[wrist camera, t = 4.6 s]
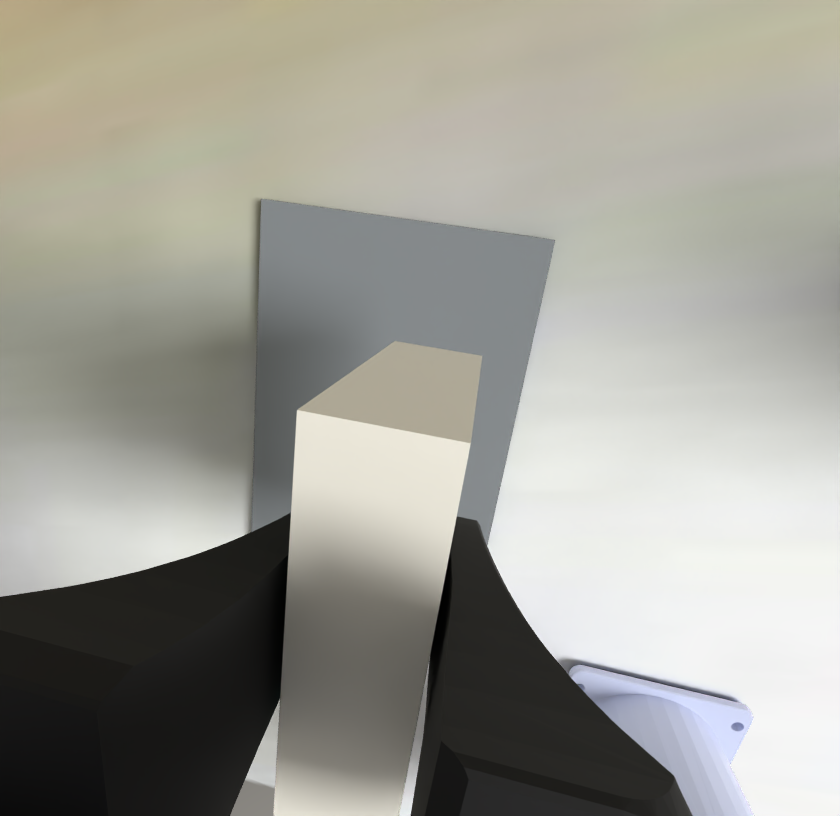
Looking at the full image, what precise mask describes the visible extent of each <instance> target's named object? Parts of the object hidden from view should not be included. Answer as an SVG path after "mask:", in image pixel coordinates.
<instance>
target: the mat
mask: <svg viewBox="0 0 840 816" xmlns="http://www.w3.org/2000/svg"><path fill="white" fill-rule="evenodd" d="M554 243H555V240H552V239H545V238H537V237H530V236H523V235H516V234H509V233H502V232H495V231H488V230H480V229H473V228H466V227H459V226H452V225H445V224H438V223H430V222H423V221H416V220H409V219H402V218H395V217H388V216H381V215H373V214H366V213H359V212H352V211H345V210H338V209H331V208H324V207H316V206H309V205H302V204H295V203H288V202H281V201H274V200H267V199H261V225H260V259H259V293H258V327H257V361H256V395H255V429H254V463H253V497H252V531H251V532H253V531H255V530H257V529H259V528H261V527H263V526H265V525H267V524H270V523H272V522H274V521H276V520H278V519H280V518H281V517H283V516H285V515H287V514H289V513H291V505H292V487H293V470H294V453H295V436H296V418H297V410H298V409H299V408H301V407H302V406H303V405H305V404H306V403H308V402H309V401H310V400H312V399H313V398H315V397H316V396H318V395H319V394H320V393H322V392H323V391H325V390H326V389H328V388H329V387H330V386H332V385H333V384H335V383H336V382H337V381H339V380H340V379H342V378H343V377H345V376H346V375H347V374H349V373H350V372H352V371H353V370H354V369H356V368H357V367H359V366H360V365H362V364H363V363H364V362H366V361H367V360H369V359H370V358H372V357H373V356H374V355H376V354H377V353H379V352H380V351H381V350H383V349H384V348H386V347H387V346H389V345H390V344H391V343H393V342H394V341H398V342H404V343H410V344H416V345H421V346H427V347H433V348H439V349H445V350H451V351H457V352H463V353H468V354H474V355H480V356H482V362H481V370H480V377H479V385H478V392H477V400H476V408H475V415H474V423H473V430H472V438H471V445H470V450H469V455H468V460H467V466H466V471H465V476H464V481H463V486H462V492H461V497H460V502H459V507H458V512H457V516H458V517H463V518H467V519H472V520H477V521H478V523H479V524H480V526H481V530H482V533H483V536H484V539H485V542H486V545H487V544H488V540H489V535H490V531H491V526H492V522H493V517H494V513H495V508H496V504H497V499H498V495H499V490H500V486H501V481H502V477H503V472H504V468H505V463H506V459H507V454H508V450H509V445H510V441H511V436H512V432H513V427H514V423H515V418H516V414H517V409H518V405H519V400H520V396H521V391H522V387H523V382H524V378H525V373H526V369H527V364H528V360H529V355H530V351H531V346H532V342H533V337H534V333H535V328H536V324H537V319H538V315H539V310H540V306H541V301H542V297H543V292H544V288H545V283H546V279H547V274H548V270H549V266H550V261H551V257H552V252H553V248H554Z"/></svg>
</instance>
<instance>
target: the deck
mask: <svg viewBox="0 0 840 816" xmlns="http://www.w3.org/2000/svg"><path fill="white" fill-rule="evenodd" d="M481 362H482V356H480V355H474V354H468V353H463V352H457V351H451V350H445V349H439V348H433V347H427V346H421V345H416V344H410V343H404V342H398V341H394V342H393V343H391V344H390V345H389V346H387V347H386V348H384V349H383V350H381V351H380V352H379V353H377V354H376V355H374V356H373V357H372V358H370V359H369V360H367V361H366V362H364V363H363V364H362V365H360V366H359V367H357V368H356V369H354V370H353V371H352V372H350V373H349V374H347V375H346V376H345V377H343V378H342V379H340V380H339V381H337V382H336V383H335V384H333V385H332V386H330V387H329V388H328V389H326V390H325V391H323V392H322V393H320V394H319V395H318V396H316V397H315V398H313V399H312V400H310V401H309V402H308V403H306V404H305V405H303V406H302V407H301V408H299V409H298V410H297V418H296V436H295V453H294V470H293V487H292V505H291V522H290V539H289V556H288V573H287V591H286V608H285V625H284V642H283V660H282V677H281V694H280V711H279V728H278V746H277V763H276V780H275V799H274V815H273V816H399V813H400V808H401V803H402V797H403V792H404V787H405V782H406V777H407V771H408V766H409V761H410V756H411V751H412V746H413V740H414V735H415V730H416V725H417V720H418V714H419V709H420V704H421V699H422V694H423V689H424V683H425V678H426V673H427V668H428V663H429V657H430V652H431V647H432V642H433V637H434V631H435V626H436V621H437V616H438V611H439V606H440V600H441V595H442V590H443V585H444V580H445V574H446V569H447V564H448V559H449V554H450V549H451V543H452V538H453V533H454V528H455V523H456V517H457V512H458V507H459V502H460V497H461V492H462V486H463V481H464V476H465V471H466V466H467V460H468V455H469V450H470V445H471V438H472V430H473V423H474V415H475V408H476V400H477V392H478V385H479V377H480V370H481Z"/></svg>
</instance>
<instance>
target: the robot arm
mask: <svg viewBox="0 0 840 816" xmlns="http://www.w3.org/2000/svg"><path fill="white" fill-rule="evenodd" d="M290 522H291V513H289V514H287V515H285V516H283V517H281V518H280V519H278V520H276V521H274V522H272V523H270V524H267V525H265V526H263V527H261V528H259V529H257V530H255V531H253V532H251V533H248V534H246V535H244V536H242V537H240V538H238V539H235V540H233V541H230V542H228V543H226V544H223V545H221V546H218V547H215V548H212V549H210V550H207V551H204V552H202V553H199V554H196V555H193V556H190V557H187V558H184V559H180V560H177V561H173V562H170V563H167V564H163V565H160V566H156V567H153V568H149V569H146V570H143V571H139V572H135V573H130V574H126V575H122V576H118V577H114V578H109V579H104V580H99V581H95V582H90V583H85V584H80V585H74V586H69V587H63V588H57V589H50V590H43V591H37V592H30V593H24V594H17V595H10V596H3V597H0V816H230V814H231V812H232V809H233V807H234V804H235V802H236V799H237V797H238V795H239V792H240V790H241V788H242V785H243V783H244V780H245V778H246V776H247V773H248V771H249V769H250V766H251V764H252V761H253V759H254V757H255V754H256V752H257V750H258V747H259V745H260V743H261V740H262V738H263V736H264V733H265V731H266V729H267V727H268V724H269V722H270V720H271V717H272V715H273V713H274V711H275V708H276V706H277V704H278V701H279V699H280V694H281V677H282V660H283V642H284V625H285V608H286V591H287V573H288V556H289V539H290ZM577 683H578V684H580V685H577ZM752 721H753V714H752V713H751V711H750V709H749V708H748V707H747V706H746V705H744V704H742V703H738V702H734V701H730V700H726V699H721V698H717V697H713V696H709V695H705V694H701V693H696V692H692V691H688V690H684V689H680V688H676V687H671V686H667V685H663V684H659V683H655V682H651V681H646V680H642V679H638V678H634V677H630V676H626V675H621V674H617V673H613V672H609V671H605V670H601V669H596V668H592V667H588V666H584V665H576V666H574V667H572V668H571V669H570V671H569V674H567V672H566V671H565V670H564V669H563V668H562V667H561V665H560V664H559V663H558V662H557V661H556V659H555V658H554V657H553V656H552V655H551V654H550V652H549V651H548V650H547V649H546V647H545V646H544V645H543V643H542V642H541V641H540V640H539V638H538V637H537V635H536V634H535V632H534V631H533V630H532V628H531V627H530V625H529V624H528V622H527V621H526V619H525V618H524V616H523V615H522V613H521V611H520V610H519V608H518V607H517V605H516V603H515V601H514V600H513V598H512V596H511V595H510V593H509V591H508V589H507V587H506V585H505V584H504V582H503V580H502V578H501V576H500V574H499V572H498V570H497V567H496V565H495V563H494V561H493V559H492V557H491V554H490V552H489V550H488V547H487V545H486V542H485V539H484V536H483V533H482V530H481V526H480V524H479V523H478V521H477V520H472V519H467V518H463V517H458V516H457V517H456V523H455V528H454V533H453V538H452V543H451V549H450V554H449V559H448V564H447V569H446V574H445V580H444V585H443V590H442V595H441V600H440V606H439V611H438V616H437V621H436V626H435V631H434V637H433V642H432V647H431V652H430V661H429V674H428V688H427V702H426V715H425V725H424V734H423V741H422V748H421V754H420V760H419V767H418V773H417V779H416V786H415V792H414V798H413V805H412V811H411V816H755V815H754V813H753V811H752V809H751V807H750V805H749V803H748V801H747V799H746V797H745V795H744V793H743V791H742V789H741V786H740V784H739V782H738V780H737V778H736V776H735V774H734V772H733V770H732V768H731V766H730V764H731V762H732V760H733V758H734V756H735V754H736V752H737V751H738V749H739V747H740V745H741V743H742V741H743V739H744V737H745V735H746V733H747V731H748V729H749V727H750V725H751V723H752Z"/></svg>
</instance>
